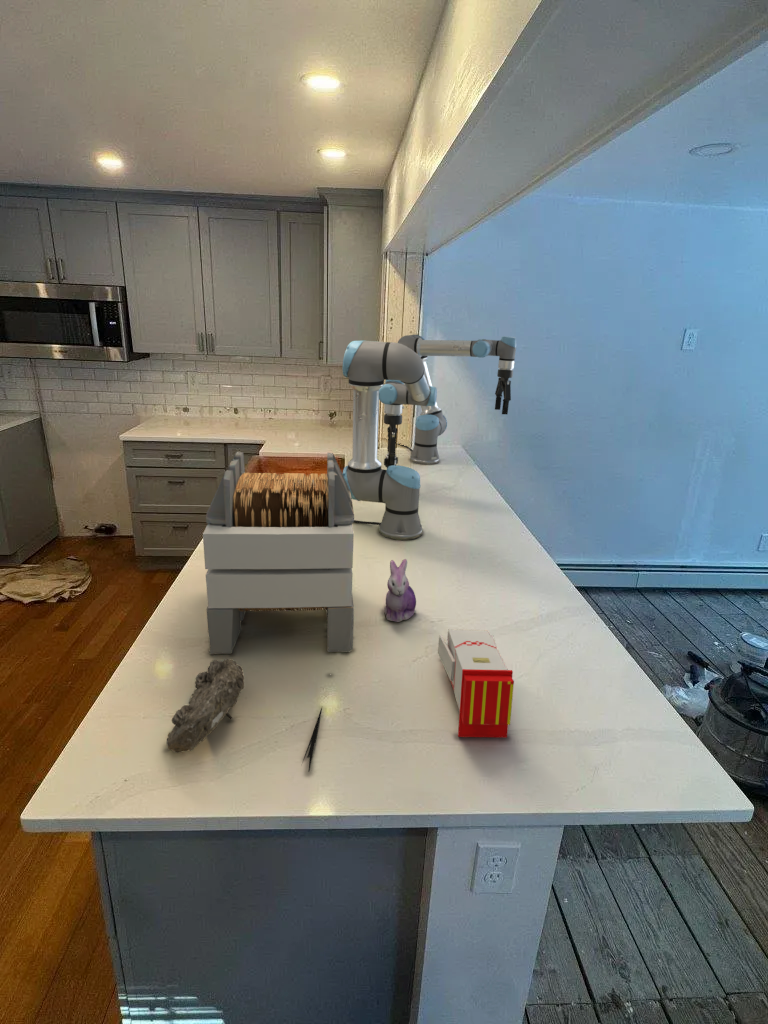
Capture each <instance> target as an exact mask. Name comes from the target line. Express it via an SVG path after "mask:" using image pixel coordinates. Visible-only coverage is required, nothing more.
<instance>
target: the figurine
mask: <svg viewBox="0 0 768 1024" xmlns="http://www.w3.org/2000/svg"><path fill="white" fill-rule="evenodd" d="M407 567H408V559H406V558H404V559H403V560H402V561H401V563H400V565H399V566H398V565H397V563H396V562H395V561H394V560H393V559H391V560H390V561H389V570H390V576H389V578H388V579H387V589H388V591H387V592H386V594H385V595H386V596H385V607H384V615H385V616H386V620H387V621H391V622H395V623H400V622H402V621H406V620H409V619H410V618H411V617H413V616H414V615H415V610H416V606H417V597H416V593H415V591H414V590H413V587H411V586H410V582H409V579H408V577H407V574H406V571H407Z"/></svg>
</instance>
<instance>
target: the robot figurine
mask: <svg viewBox="0 0 768 1024" xmlns="http://www.w3.org/2000/svg"><path fill="white" fill-rule="evenodd" d="M387 455H389V453H388V452H387V453H386V454H385V458H384V459H383V466H385V468H386V469H387V468H388V456H387ZM397 465H399V457H398V456H397V455H395V466H397Z"/></svg>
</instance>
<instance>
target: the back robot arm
mask: <svg viewBox="0 0 768 1024" xmlns="http://www.w3.org/2000/svg"><path fill="white" fill-rule="evenodd" d="M397 343H399V344H402V345H405V346H407V347H408V348H410V349H412V350H413V351H414V352H415V353H417V354H418V355H419V356H420V358H421V359H422V361H423V364H424V367H425V372H424V375H425V378H426V381H427V384H428V386H432V387H433V384H432V380H431V376H430V371H429V369H428V364H427V361H428V359H429V357H461V358H462V357H465V358H467V357H469V358H479V359H480V358H486V357H488V356H490V357H498V363H497V367H498V369H497V373H496V374H497V377H498V380H497V384H496V388H495V393H494V395H495V402H494V403H495V404H494V410H495V411H497V410H498V411H500V410H501V415H508V413H509V405H510V404H509V403H510V401H512V395H511V394H512V393H511V391H512V389H511V386H512V385H511V384H512V381H511V380H510V379H512V378H513V377H514V369H515V365H516V362H515V359H516V351H517V337H515V336H501V339H499V340H496V339H486V338H482V339H479V338H478V339H477V340H465V339H464V340H460V339H458V340H457V339H456V340H455V339H454V340H453V339H452V340H449V339H425V338H424V337H423V336H421V335H419V334H409V335H408V334H407V335H403V336H402V337H400V338H399V339H398V341H397ZM502 398H503V399H502ZM501 405H502V408H501ZM420 409H421V413H420V415H418V416H417V417H416V419H415V432H414V434H415V435H414V446H413V449H412V448H411V447H409V446H408V445H406V446H404V445H405V444H403V445H400V444H401V443H400V444H398V445H399V446H401V447H404V448H406V449H407V450H408V449H409V451H410V452H411V454H410V457H409V460H410V462H412V463H413V464H414V463H415V464H418V465H437V464H439V463H440V454H439V450H438V437H439V436H441V435H443V434H444V432H445V431H446V430H447V427H448V421H447V420H448V419H447V418H446V416H445V415H444V414H443V409H442V408H441V407H439V406H438V402H437V401H436V404H435V405H434V406H420Z"/></svg>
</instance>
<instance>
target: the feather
mask: <svg viewBox="0 0 768 1024" xmlns="http://www.w3.org/2000/svg"><path fill="white" fill-rule="evenodd" d="M329 675H330V676H331V675H332V674H331V673H330V674H329ZM322 710H323V707H321V708H320V710H319V713H318V716H317V719H316V723H315V725H314V728H313V731H312V733H311V737H310V739H309V742H308V745H307V748H306V751H305V754H304V757H303V760H302V763H301V767H302V765H303V763H304V761H305V758H308V759H309V760H308V762H307V763H308V764H307V766H308V771H310V770H311V766H312V765H311V764H312V760H313V757H315V756H314V755H315V751H316V749H315V746H317V739H318V733H319V729H320V722H321V717H322V712H323V711H322ZM313 754H314V755H313ZM306 755H307V757H306Z"/></svg>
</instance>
